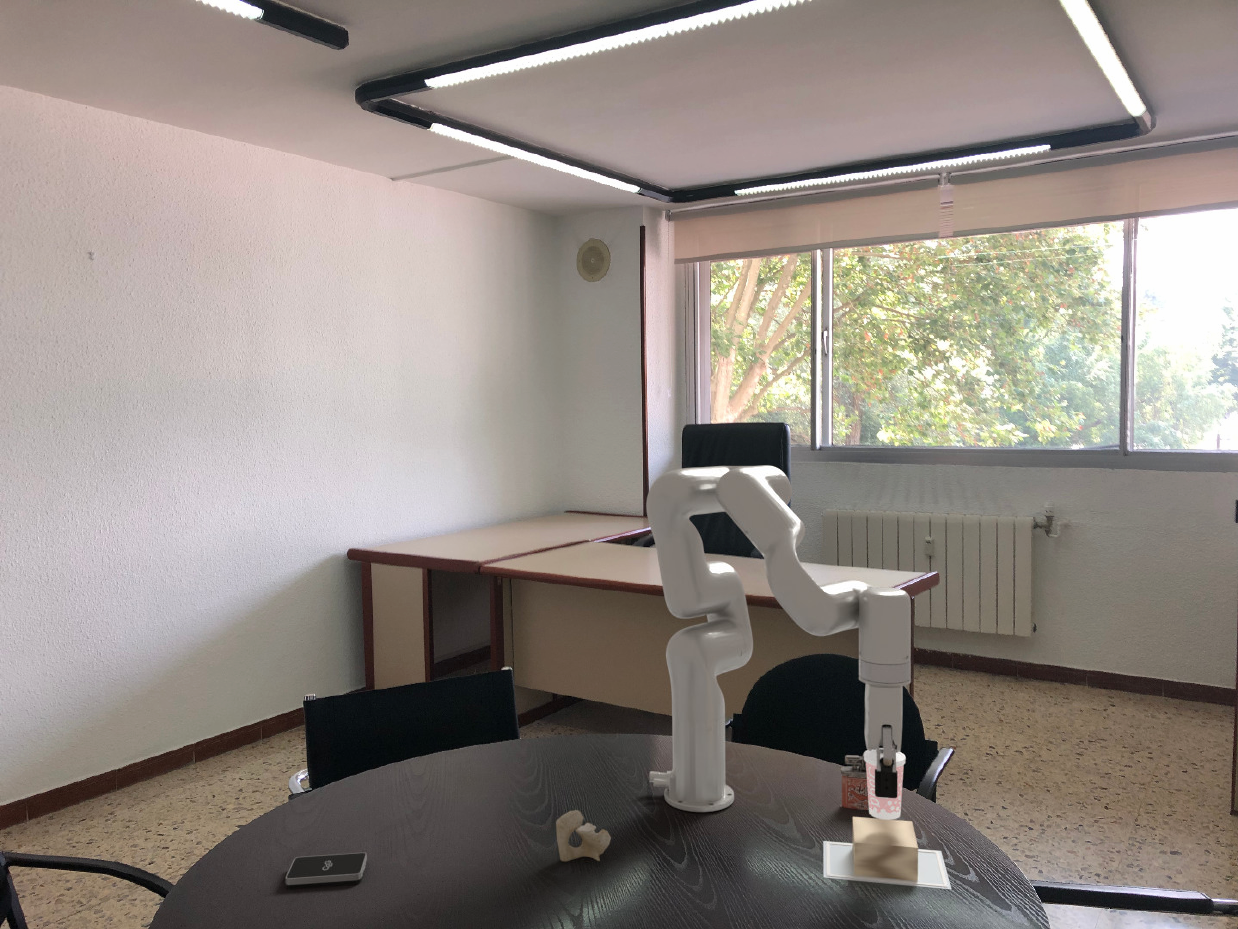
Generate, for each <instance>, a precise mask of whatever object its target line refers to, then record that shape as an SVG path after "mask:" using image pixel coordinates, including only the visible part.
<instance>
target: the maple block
mask: <svg viewBox="0 0 1238 929" xmlns="http://www.w3.org/2000/svg"><path fill="white" fill-rule="evenodd" d="M916 836H917V835H916V833H915V827H914V823H913V821H911V820H900V819H899V820H897V819H892V820H884V819H879V818H876V817H873V818H871V817H861V816H860V817H859V816H852V843H853V861H854V875H857V876H868V877H879V878H890V879H900V880H911V881H918V849H919V847H918V846H919V845H918V841H917V837H916Z"/></svg>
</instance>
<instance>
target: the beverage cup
mask: <svg viewBox="0 0 1238 929" xmlns="http://www.w3.org/2000/svg"><path fill="white" fill-rule="evenodd" d="M879 749H883V748H879ZM892 750H893V748H892ZM863 755H864V760H865V761H866V772H867V787H868V803H869V810H868V813H869V815H871V817H873V818H875V819H884V820H897V819H898V818H900V817H901V814H902V813H901V812H902V811H901V810H902V795H903V780H904V765H905V764H906V760H907V758H906V755H905V754H904V753H902V752H901V751H899V752H898V753H896V771H897V772H898V777H897V798H883V797H876V796H875V769H877V759H876V750H872V751H869V750H868V749H867V750H865V751H864V752H863ZM881 757H883V754H880V759H881Z"/></svg>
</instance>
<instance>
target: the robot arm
mask: <svg viewBox="0 0 1238 929" xmlns="http://www.w3.org/2000/svg"><path fill="white" fill-rule="evenodd" d="M792 492H793V490H792V485H791V481H790V479H789V478H788V476H787V475H786V474H785V472H784V471H782V470H781V469H780V468H778V467H776V466H773V465H769V464H767V465H766V464H765V465H718V466H717V465H716V466H704V467H698V466H697V467H685V468H678V469H673V470H670V471H668V472H665V473H663V474H662V475H660V476H659V477H657V479H656V480H655V481H654V482H653V483H652V485H651V486H650V488H649V491H648V494H647V496H646V503H645V504H646V507H645V508H646V516H647V520H648V524H649V527H650V531H651V533H652V536H653V540H654V543H655V548H656V554H657V559H658V566H659V573H660V578H661V584H662V590H663V595H664V596H663V597H664V600H665V604H666V607H667V609H668V611H669V612H670V614H671V615H672V616H674V617H676V618H677V619H683V620H684V619H685V620H686V619H694V618H699V617H703V616H706V618H707V622H702V623H697V624H695V625H690V626H687V627H684V628H681V629H680V630H678V631H676V632H675V633H673V635H672V636H671V638H669V640H668V642H667V645H666V649H665V657H666V658H665V659H666V664H667V668H668V674H669V679H670V680H669V681H670V686H671V687H670V688H671V717H672V720H671V722H672V769H671V770H667V771H666V772H660V771H654V770H653V771H649V775H648V776H649V777H648V778H649V780H648V781H649V783H653V787H658V788H661V787H662V788H665V790H664V795H663V796H664V800H665V801H666V803H667V804H669V805H670V806H671V807H673V808H676V809H678V810H682V811H686V812H690V813H691V812H692V813H710V812H717V811H720V810H723V809H726V808H728V807H730V806H731V805H732V804H733V802H734V800H735V792H734V790H733V789H732V788H731V786H729V785H728V784H726V705H725V704H726V703H725V697H724V694H723V692H722V690H721V687H720V686H719V683H718V680H717V677H718V676H719V675H721V674H723V673H724V674H725V673H727V672H731V671H734V670H737V669H740V668H742V667H743V666H746V664H748V662H749V661H750V659H751V658H752V655H753V652H754V651H753V650H754V639H753V638H754V637H753V632H752V626H751V621H750V615H749V609H748V604H747V597H746V593H745V587H744V584H743V582H742V579H741V577H740V575H739V573H738V572H737V570H735V568H734V567H733V566H732V565H730V564H729V563H727V562H724V561H722V560H710V561H707V558H706V554H705V551H704V550H705V549H704V543H703V540H702V537H701V535H700V533H699V530H698V529H697V528H696V526H695V525H694V524H693V522H692V521H691V520H690V518H691V517H692V516H694V515H695V516H696V515H697V516H698V515H707V514H713V513H723V512H724V513H725V514H727V515H728V516H729V517H730V519H732V521H733V522H734V524H736V526H737V527H738V528H739V529H740V530H741V532H743V534H744V535H745V536H746V537H747V538H748V540H749V541H750V543H752V545H753V546H754V547H755V548H756V549H757V550H758V552H759V553H760V554H761V555H762V556H763V558H764V570H765V575H766V579H767V582H768V585H769V588H770V591H771V593H772V595H773V597H774V599H775V600H776V601H777V602H778V604H779V605H780V607H782V609H783V610H784V611H785V612H786V614H787V615H788V616H789V617H790V619H792V620H793V621H794V623H795V624H796V625H797V626H799V627H800V628H801V629H802V630H803V631H805V632H806V633H808V634H810V635H813V636H817V637H825V636H831V635H834V634H836V633H840V632H844V631H848V630H853V629H858V680H859V681H860V682H862V683H864V684H865V689H864V690H865V691H864V741H865V746H866V749H867V750H869V751H872V750H876V759H877V769H875V796H876V797H883V798H897V777H898V772H897V771H896V753H898V752H901V749H902V736H903V735H902V734H903V698H904V697H903V693H904V692H903V687H904V686H908V685H909V684H911V682H912V679H911V676H912V673H911V672H912V670H911V669H912V666H911V664H912V659H911V655H912V654H911V653H912V652H911V651H912V650H911V648H912V644H911V643H912V642H911V641H912V640H911V638H912V629H911V628H912V626H911V625H912V618H911V617H912V604H911V602H912V601H911V597H910V595H909V594H908V592H907V591H906V590H903V589H902V588H901V589H900V588H896V587H895V588H894V587H889V586H888V587H885V586H884V587H883V586H880V587H879V586H875V585H872V584H870V583H866V582H863V581H859V580H856V579H843V580H840V581H834V582H829V583H825V584H824V583H823V584H819V583H817V581H816V580H815V579H814V578H813V577H812V576H811V575H810V574H809V572H808V571H807V570H806V569H805V567H804V566H803V565H802V563H801V561H800V560H799V557H798V554H797V547H799V545H800V543H801V542H802V540H803V539H804V537H805V533H806V527H805V524H804V522H803V521H802V520H801V519H800V517H798V516H797V514H796V513H795V512H793V510H792V508H790V507H789V506H788V504H789V503H790V501H791V498H792V494H793V493H792ZM879 748H883V749H879ZM892 749H893V750H892ZM880 754H883V757H881V759H880Z"/></svg>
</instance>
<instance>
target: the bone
mask: <svg viewBox="0 0 1238 929" xmlns="http://www.w3.org/2000/svg"><path fill="white" fill-rule="evenodd" d="M584 819H585V818H584V816H583V814H582V812H581V811H580V810H578V809H575V810H570V811H568V812H566V813H564V814H562V815H561V816H560V817H559V818H557V820H556V821H555V828H556V830H555V832H556V839H557V840H556V841H557V847H558V853H559V854H558V855H559V860H560V861H561V862H570V861H571V860H575V859H578V858H582V857H589V858H593V859H594V860H596V861H597V862H600V861H601V860H600V859H601V858H600V856H601V855H603V854H604V852H605V850H607V848H608V847H609V845H610V843H611V839H612V837H611V835H610V833H609V831H607V830H606V829H604V828H603V829H601V830H600V831H599V832H596V829H597V826H596V825H593V824H592V823H590V822H586V823H585V824H584V825H582V824H583V822H584ZM574 831H575V832H576V834H578V835H579V836H580V839H581V840H582V841H581V844H580V846H578V847H573V846H571V845H570V843H569V839H570V837H571V835H572V834H573V832H574Z"/></svg>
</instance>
